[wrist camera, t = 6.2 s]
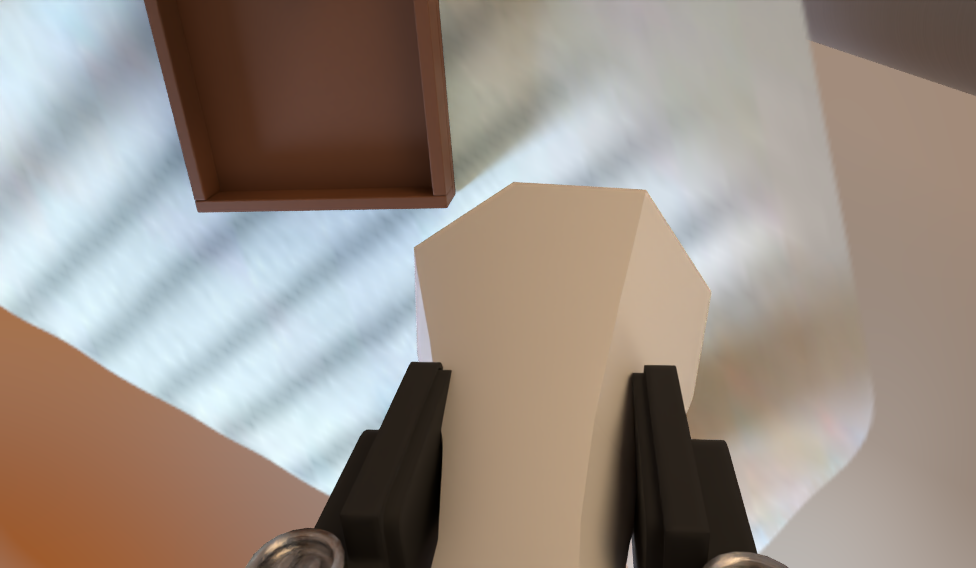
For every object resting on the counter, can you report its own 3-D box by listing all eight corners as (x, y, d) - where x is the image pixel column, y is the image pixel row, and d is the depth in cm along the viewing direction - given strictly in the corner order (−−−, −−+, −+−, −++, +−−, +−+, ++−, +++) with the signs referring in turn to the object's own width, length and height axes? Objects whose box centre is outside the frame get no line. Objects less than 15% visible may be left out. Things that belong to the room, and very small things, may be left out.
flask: (463, 458, 19) (342, 911, 10) (368, 217, 16) (82, 533, 7) (735, 414, 17) (894, 921, 8) (679, 135, 14) (822, 418, 5)
